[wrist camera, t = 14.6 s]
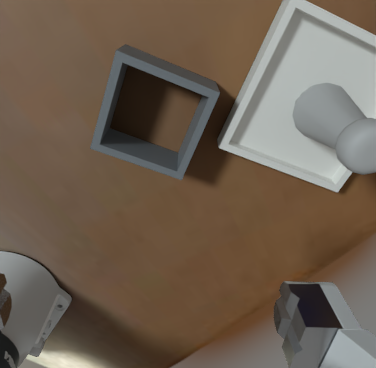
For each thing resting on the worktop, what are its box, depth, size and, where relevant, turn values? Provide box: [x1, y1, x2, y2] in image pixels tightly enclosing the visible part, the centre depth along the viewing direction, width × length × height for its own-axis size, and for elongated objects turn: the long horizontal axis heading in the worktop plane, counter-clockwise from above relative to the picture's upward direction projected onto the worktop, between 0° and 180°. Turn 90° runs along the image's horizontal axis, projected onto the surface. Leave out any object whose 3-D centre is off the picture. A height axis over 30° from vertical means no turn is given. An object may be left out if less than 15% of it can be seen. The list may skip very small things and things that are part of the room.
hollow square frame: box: [90, 44, 220, 180], centre depth 33 cm, size 10×10×5 cm
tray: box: [217, 0, 376, 192], centre depth 34 cm, size 16×16×2 cm
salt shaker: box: [292, 83, 376, 175], centre depth 29 cm, size 6×6×13 cm
